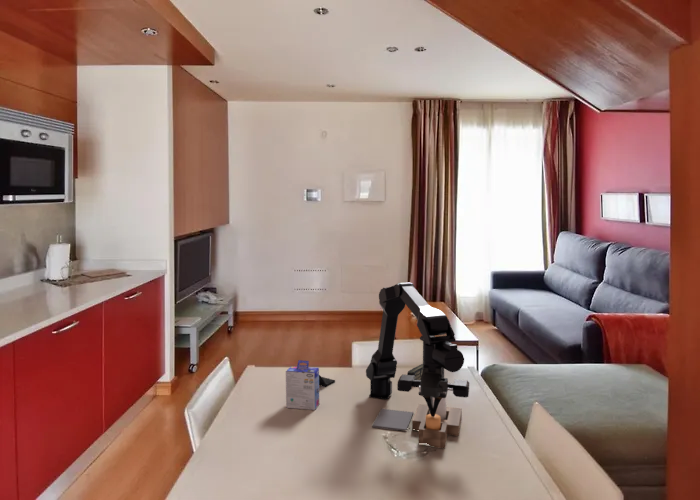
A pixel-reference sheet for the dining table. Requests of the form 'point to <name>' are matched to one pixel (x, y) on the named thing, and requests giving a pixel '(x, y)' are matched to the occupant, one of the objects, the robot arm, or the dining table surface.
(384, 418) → the mat
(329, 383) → the handheld gaming console
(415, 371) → the mobile phone
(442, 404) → the cylinder
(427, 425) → the release button
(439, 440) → the socket block
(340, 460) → the dining table surface
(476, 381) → the dining table surface
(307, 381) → the ink cartridge box
